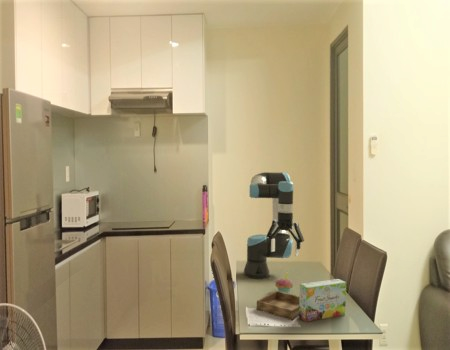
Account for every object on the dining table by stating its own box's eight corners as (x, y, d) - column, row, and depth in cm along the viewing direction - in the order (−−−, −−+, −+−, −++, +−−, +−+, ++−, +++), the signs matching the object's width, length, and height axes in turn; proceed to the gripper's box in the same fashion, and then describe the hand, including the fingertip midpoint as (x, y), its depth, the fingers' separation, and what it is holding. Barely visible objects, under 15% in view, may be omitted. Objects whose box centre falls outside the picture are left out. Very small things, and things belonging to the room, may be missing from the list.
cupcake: (295, 293, 193) (295, 270, 193) (285, 297, 187) (286, 273, 187) (281, 289, 199) (281, 266, 199) (271, 293, 193) (272, 270, 192)
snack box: (306, 322, 158) (306, 287, 157) (298, 317, 163) (299, 283, 162) (346, 315, 166) (346, 281, 166) (337, 310, 171) (338, 277, 171)
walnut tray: (256, 309, 171) (256, 301, 171) (276, 298, 185) (276, 290, 185) (292, 320, 160) (292, 310, 160) (310, 307, 174) (310, 299, 174)
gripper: (260, 210, 196) (259, 250, 197) (304, 215, 181) (303, 258, 182) (267, 209, 202) (267, 248, 203) (311, 213, 187) (310, 255, 188)
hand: (284, 253), depth 192 cm, fingers open, 13 cm apart
